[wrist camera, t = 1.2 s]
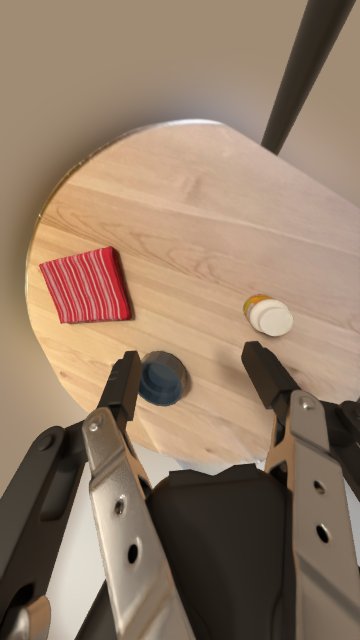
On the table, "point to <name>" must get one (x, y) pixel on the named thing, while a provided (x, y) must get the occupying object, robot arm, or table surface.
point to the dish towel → (87, 287)
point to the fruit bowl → (161, 379)
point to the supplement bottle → (268, 315)
